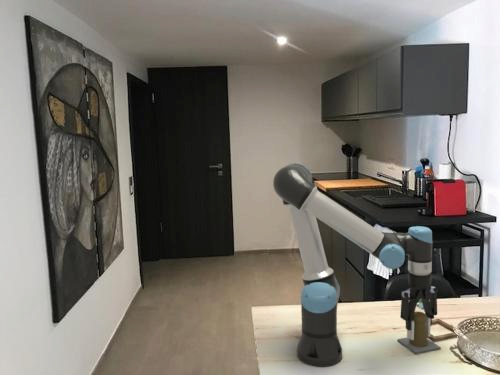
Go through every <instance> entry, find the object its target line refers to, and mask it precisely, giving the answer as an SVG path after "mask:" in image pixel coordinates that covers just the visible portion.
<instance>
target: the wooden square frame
mask: <svg viewBox="0 0 500 375" xmlns="http://www.w3.org/2000/svg"><path fill="white" fill-rule="evenodd" d="M434 325H439V326H441V327H443V328H444V329H446V330H448V331H449V332H450V333H445V334H439V335H436V336H435V335H433V334H432V333H430V337H428V336H427V339H429V340H430V341H432V342H433V343H435V342H436V343H437V342H442V341H446V340H450V339H451V340H452V339H455V338H458V337H457V336H458V335H457V334H456V333H455V332H454V330H453V328H455V327H454V326H453V325H451V324H449V323H447V322H445V321H443V320H442V319H439V318H436V319H435V318H434V319H432V326H434Z"/></svg>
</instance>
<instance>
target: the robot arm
mask: <svg viewBox="0 0 500 375" xmlns="http://www.w3.org/2000/svg"><path fill="white" fill-rule="evenodd" d="M272 183H273V185H272V186H273V189H274V192H275V193H276V195H277V196H278V197H279V198H280V199H282V204H283V206H285V207H286V208H288V210H289V213H290V214H289V215H290V218H291V222H292V226H293V229H294V233H295V237H296V242H297V246H298V250H299V253H300V257H301V261H302V265H303V269H304V273H303V274H302V275H301V276H302V277H301V278H302V283H303V287H302V289H301V293H300V305H301V308H300V309H301V312H300V313H301V334H300V337H299V339H298V342H297V343H298V344H297V347H296V356H297V359H299V360H300V361H301V362H303V363H304V364H306V365H309V366H313V367H329V366H334V365H336V364H338V363H340V361H342V359H343V348H342V345H341V341H340V339H339V336H338V331H337V330H338V328H337V327H338V324H337V322H338V318H337V317H338V316H337V315H338V314H337V313H338V306H339V304H338V303H339V298H340V295H341V287H340V285H339V281H338V280H337V278H336V275H335V272H334V269H333V268H331V267H330V266H329V265H328V261H327V257H326V252H325V249H324V244H323V241H322V236H321V233H320V229H319V224H318V221H317V219H318V220H320V221H321V222H322V223H324V224H325V225H326V226H328V227H330V228H331V229H333V230H334V231H336V232H338V233H339V234H340V235H342V236H344V237H345V238H346V239H348V240H349V241H351V242H352V243H354V244H355V245H357V246H358V247H360V248H361V249H363V250H364V251H366V252H368V254H371V255H372V256H373V257H375V258H377V260H379V262H380V263H381V265H382V266H383V267H385V268H387V269H390V270H396V269H399V268H401V267H402V265H404V262H405V258H406V256H408V258H407V271H408V272H407V282H408V287H407V289H406V290H400V296H401V300H400V302H401V303H400V314H399V315H400V319H402V320H403V321H404V322H405V329H406V337H408V338H410V339H411V340H414V321H412V319H413V316H414V312H416V308H417V305H418V304H419V303H418V302H419V300H420V299H421V300H422V303H423V307H424V309H423V310H424V313H425V314H426V316H427V321H426V323H425V326H426V334H427V336H428V337H430V334H431V327H432V326H433V325H432V320H434V319H435V316H438V297H437V296H438V291H439V289H438V287H436V286H433V285H432V279H433V278H432V276H433V275H432V270H433V269H432V265H433V263H432V262H433V259H432V258H433V243H434V242H433V231H432V229H430V228H429V227H427V226H419V225H416V226H411V227H409V228H408V230H407V231H408V232H387V231H385V232H384V231H379V230H378V229H377V228H375V227H373V226H372V225H371V224H369V223H367V222H366V221H365V220H363V219H362V218H360V217H358V216H357V215H355V214H354V213H353V212H351V211H349V210H348V209H347V208H345V207H344V206H342V205H341V204H339V203H337V202H336V201H335V200H333V199H331V198H330V197H328V196H327V195H326V194H323V193H322V192H320V191H319V190H318V186H317V185H316V184H314V183H313V175H312V173H311V171H310V170H309V168H307V167H306V166H305V165H303V164H300V163H296V162H295V163H290V164H287V165H285V166H284V167H282V168H280V169H279V170H278V171H277V172H276V173H275V175H274V176H273V180H272Z"/></svg>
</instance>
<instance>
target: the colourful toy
mask: <svg viewBox="0 0 500 375" xmlns="http://www.w3.org/2000/svg"><path fill="white" fill-rule="evenodd" d="M417 304H418V307H419V308H420V309H422V310H424V307H423V303H422V300H421V299H420V300H419V302H418V303H417Z"/></svg>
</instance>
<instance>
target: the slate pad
mask: <svg viewBox="0 0 500 375" xmlns="http://www.w3.org/2000/svg"><path fill="white" fill-rule="evenodd" d="M396 339H397V342H398V343H399V344H400V345H401V346H403V347H404V348H406V349H407V350H409V351H410V352H411V353H413V354H414V355H420V354H425V353H430V352H434V351H440V350H442V349H441V346H439V345H438V344H437V343H435V342H433V341H431V340H430V339H428V338H427V342H428V345H427V346H426V347H415V346H413V345H411V344H410V343H409V340H410V338H408V337H407V336H406V337H403V338H402V337H401V338H396Z"/></svg>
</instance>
